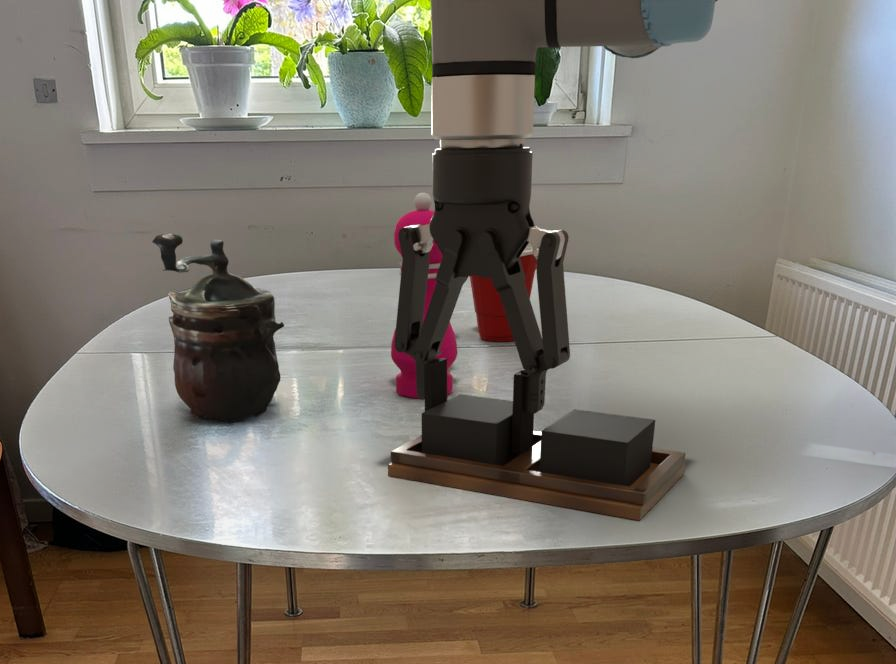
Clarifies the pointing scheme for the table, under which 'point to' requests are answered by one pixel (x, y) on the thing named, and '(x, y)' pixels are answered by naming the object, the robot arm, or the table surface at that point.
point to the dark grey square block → (470, 429)
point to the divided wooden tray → (541, 479)
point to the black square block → (598, 447)
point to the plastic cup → (498, 301)
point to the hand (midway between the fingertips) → (478, 442)
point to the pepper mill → (449, 345)
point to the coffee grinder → (221, 338)
